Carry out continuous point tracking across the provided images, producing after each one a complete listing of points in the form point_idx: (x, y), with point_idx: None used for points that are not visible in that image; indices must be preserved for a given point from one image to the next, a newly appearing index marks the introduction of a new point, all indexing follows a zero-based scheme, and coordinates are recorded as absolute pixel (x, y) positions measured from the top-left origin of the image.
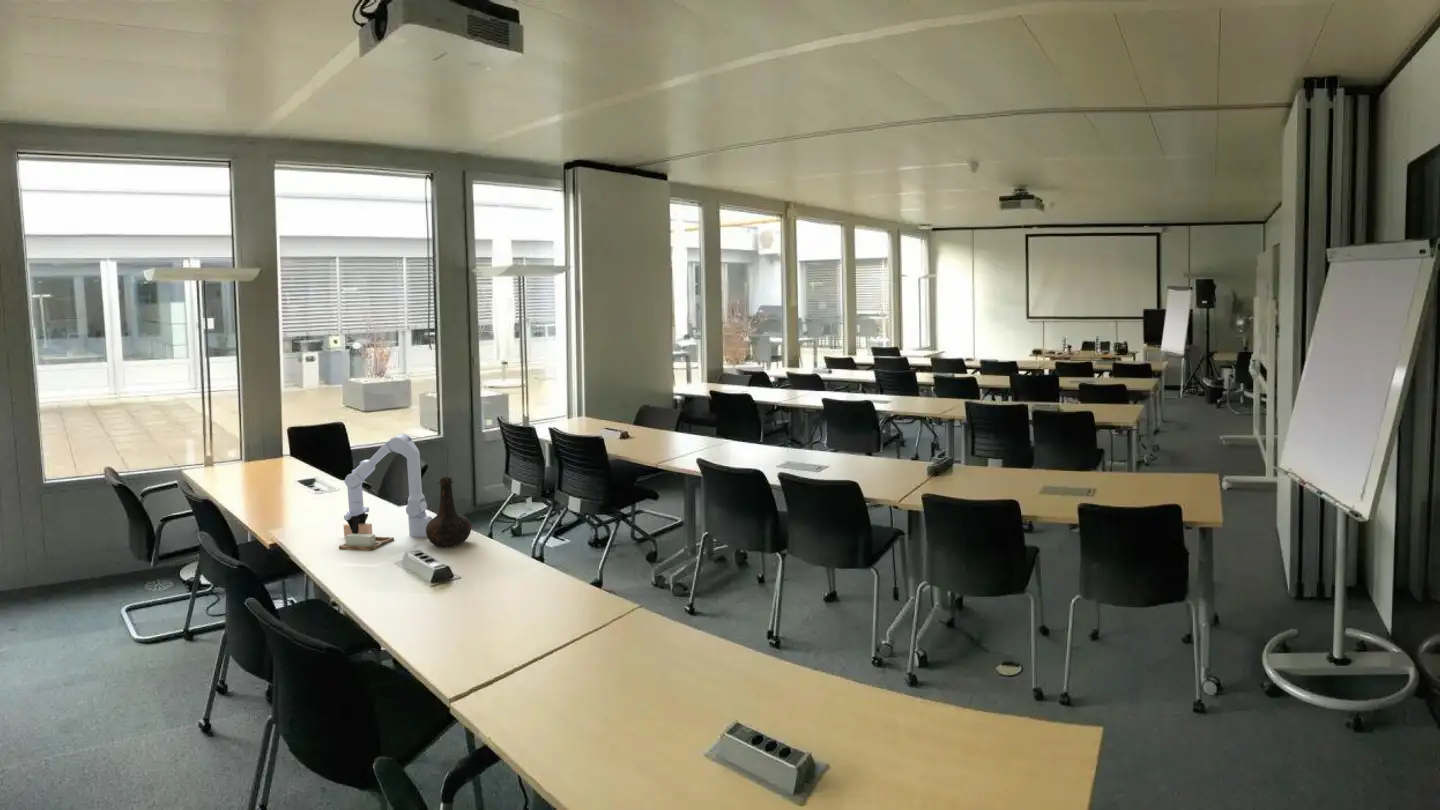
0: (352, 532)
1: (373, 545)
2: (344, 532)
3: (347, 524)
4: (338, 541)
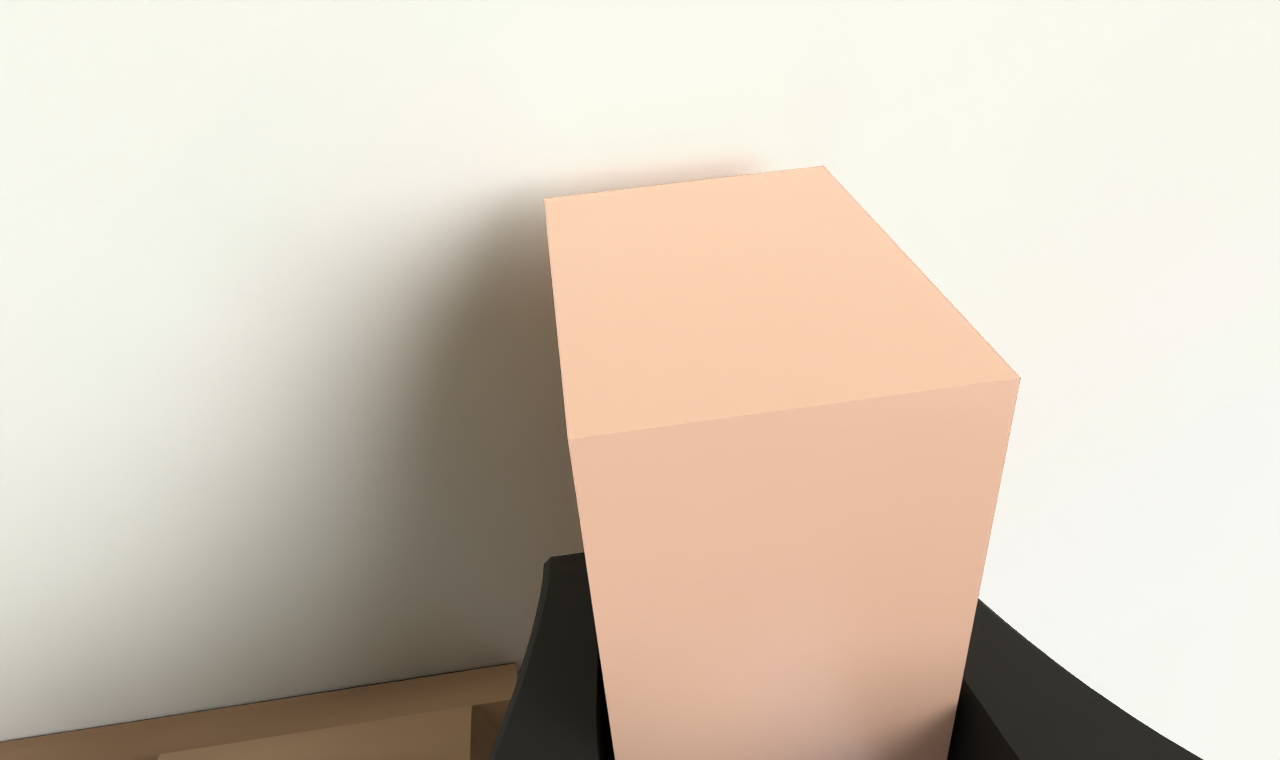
0: (541, 594)
1: None
2: (552, 277)
3: (696, 549)
4: (234, 201)
